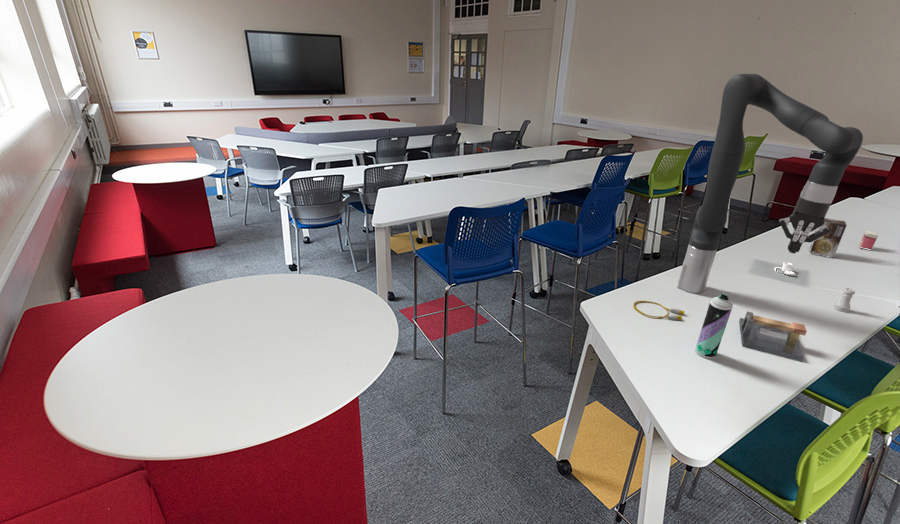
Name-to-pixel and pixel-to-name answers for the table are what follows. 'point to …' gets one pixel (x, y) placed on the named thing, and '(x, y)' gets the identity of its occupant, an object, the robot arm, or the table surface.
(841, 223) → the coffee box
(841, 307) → the rook chess piece
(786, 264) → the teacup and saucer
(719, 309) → the spray can
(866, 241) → the small box
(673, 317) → the extension cord
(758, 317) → the lever
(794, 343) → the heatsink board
